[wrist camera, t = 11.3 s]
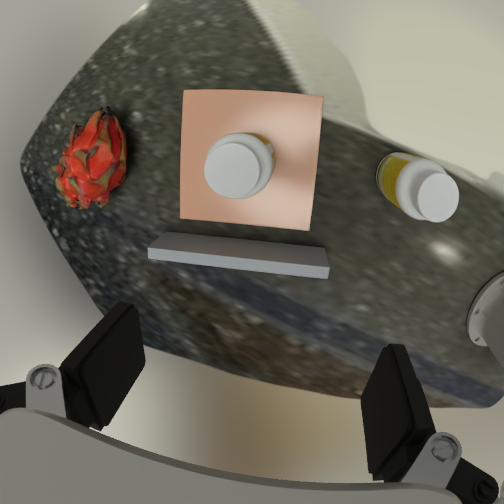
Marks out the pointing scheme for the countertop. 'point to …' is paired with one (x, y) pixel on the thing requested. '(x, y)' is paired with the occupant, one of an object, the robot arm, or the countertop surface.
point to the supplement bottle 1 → (239, 165)
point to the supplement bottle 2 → (417, 186)
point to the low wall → (241, 254)
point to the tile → (270, 127)
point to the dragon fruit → (92, 161)
